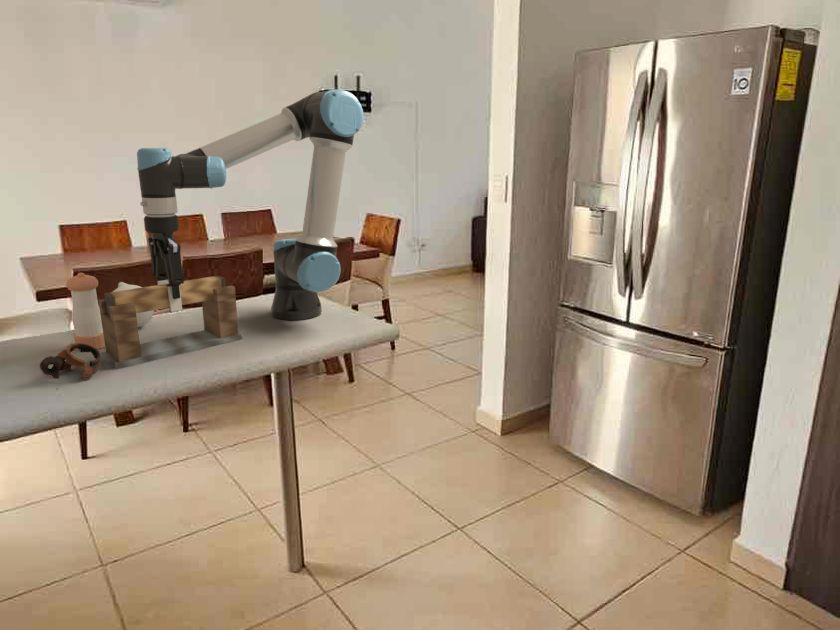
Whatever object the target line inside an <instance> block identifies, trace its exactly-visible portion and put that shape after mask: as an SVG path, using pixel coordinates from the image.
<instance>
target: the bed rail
mask: <svg viewBox="0 0 840 630" xmlns="http://www.w3.org/2000/svg"><path fill="white" fill-rule="evenodd" d="M168 284H169V283H168ZM166 285H167V284H162V285H158V284H157V285H150V286H144V287H142V288H136V289H130V290H124V291H117V292H113V291H111V292H105V293H104V299H105V301H106V308H107V314H108V315H110V310H109V306H115V305H121V304H127V303H133V304H135V309H136V313H141V312H147V311H152V310H158V311H159V310H162V309H167V308H170V304H169V295H168V287H167V286H166ZM220 287H226V279H225V277H222V276H219V275H214V276H207V277H202V278H201V277H200V278H195V279H188V280H184V283H183V284H181V285H180V292H181V301H182V306H183V305H189V304H195V303H202V301H207V300H212V299H214V295H213V289H214V288H220Z"/></svg>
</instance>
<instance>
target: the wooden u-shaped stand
mask: <svg viewBox="0 0 840 630" xmlns="http://www.w3.org/2000/svg"><path fill="white" fill-rule="evenodd" d="M213 295H214V299H212V300H207V301H201V306H202V318H203V319H202V320H203V330H199V331H195V332H194V331H193V332H189V333H186V334H180V335H175V336H172V337H167V338H161V339H158V340H153V341H147V342H143V343H141V341H140V333H139V328H138V324H137V316H136V309H135V304H133V303H127V304H121V305H115V306H109V310H110V315H108V314H107V308H106V301H105V298H103V299H97V300H98V306H99V309H100V315H101V322H102V328H103V335H104V342H105V347H104V349H105V351H102V352H101V359H103V360H104V361H105V362H107V363H108V364H109V365H110V366H111V367H113V368H114V369H116V370H117V369H122V368H127V367H131V366H135V365H138V364H144V363H148V362H151V361H156V360H160V359H164V358H168V357H173V356H176V355H181V354H184V353H185V354H186V353H189V352H193V351H197V350H203V349H206V348H209V347H210V348H211V347H214V346H218V345H223V344H226V343H227V344H228V343H231V342H232V343H233V342H235V341H239V340H243V333H242V332H239V323H238V309H237V299H236V298H237V297H236V296H237V295H236V287H235V286H233V285H227V286H226V285H225V287H220V288H214V289H213Z"/></svg>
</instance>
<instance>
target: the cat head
mask: <svg viewBox="0 0 840 630" xmlns="http://www.w3.org/2000/svg"><path fill="white" fill-rule="evenodd" d="M136 288H143V287H142V286H139V285H137V284H128V283H125V282H123V281H120V282H118V285H117V288H115V289H114V290H112V292H117V291H124V290H130V289H136ZM156 311H157V312H158V313H160V314H161V315H163V313H162V312H161V311H160V310H159V309H158V310H152V311H147V312H141V313H136V316H137V324H138V329H139V328H141V327H143V326H145V325H146V324H148V323H149V322H150V320H152V318H153V316H154V314H155V312H156Z"/></svg>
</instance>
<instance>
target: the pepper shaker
mask: <svg viewBox="0 0 840 630" xmlns="http://www.w3.org/2000/svg"><path fill="white" fill-rule="evenodd" d="M65 286H66V288H67V289H68V291H70V293H71V301H72V322H73V323H72V324H73V329H74V335H73V338H74V344H76V343H77V344H78V343H81V344H86V345H90V346H92V347H94V348H95V349H97V350H99V349H102V348H105V342H104V335H103V328H102V322H101V315H100V308H99V302H98V300H99V299H98V295H97V290H96V289H97V288H98V286H99V280H98V279H97V278H96V277H95V276H92V275H90V274H85V273H84V272H78V273H77V275H74V276H72V277H70V278H68V279H67V281H66V283H65ZM77 350H78V351H80V350H79V349H77Z"/></svg>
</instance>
